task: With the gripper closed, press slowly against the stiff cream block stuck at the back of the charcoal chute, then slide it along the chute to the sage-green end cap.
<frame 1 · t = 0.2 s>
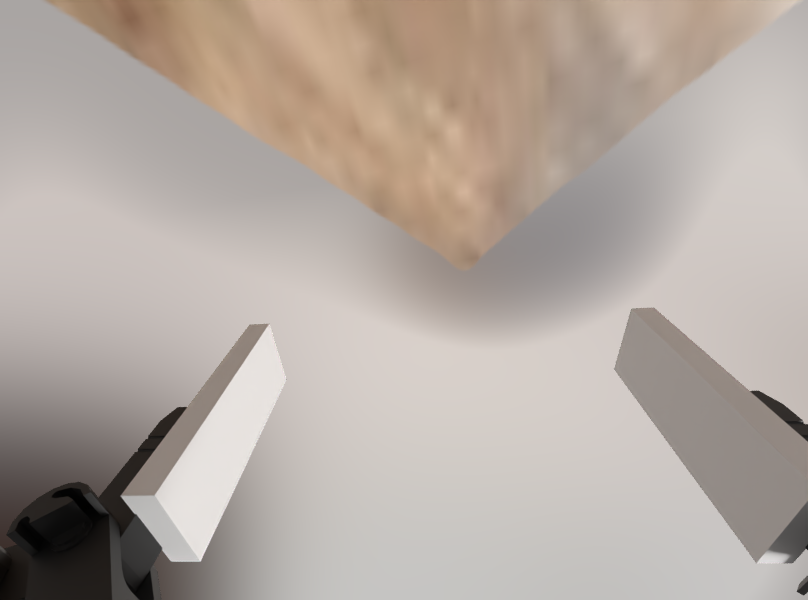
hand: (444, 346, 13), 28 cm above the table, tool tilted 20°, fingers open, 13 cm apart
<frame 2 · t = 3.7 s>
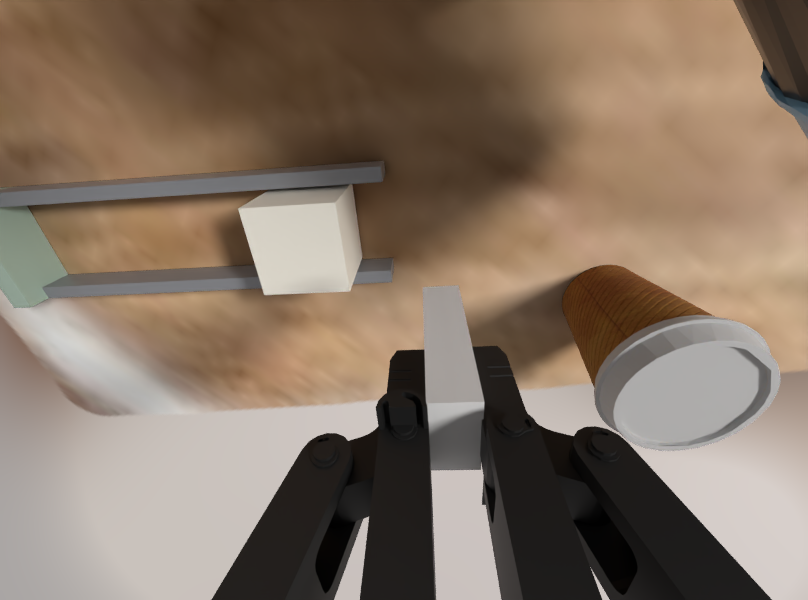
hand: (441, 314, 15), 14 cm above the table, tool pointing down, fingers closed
chute: (212, 229, 29), on the table
disposable coffee cup: (598, 296, 31), on the table
jammed block: (309, 236, 25), point 3 cm above the table, slide at 0.0 cm
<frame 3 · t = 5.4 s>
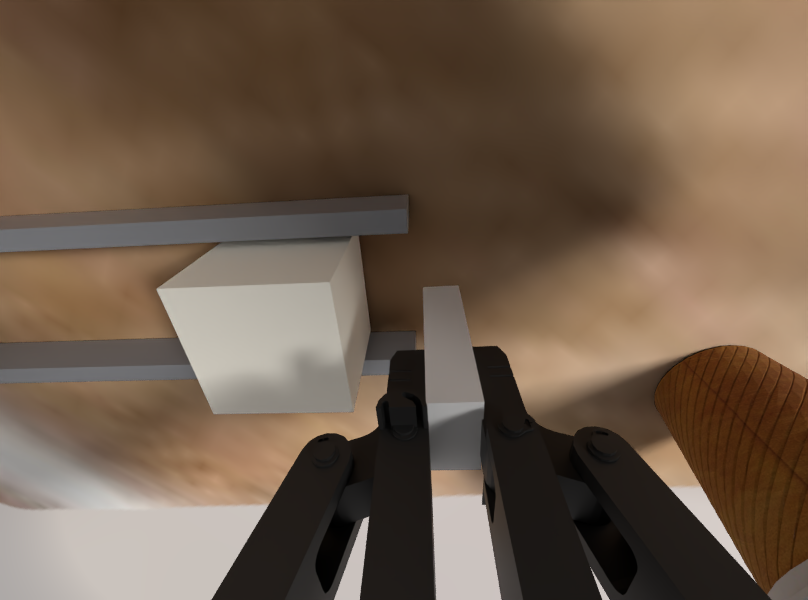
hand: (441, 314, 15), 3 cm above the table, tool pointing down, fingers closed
chute: (147, 288, 19), on the table
disposable coffee cup: (707, 384, 21), on the table
jammed block: (289, 314, 16), point 3 cm above the table, slide at 0.0 cm
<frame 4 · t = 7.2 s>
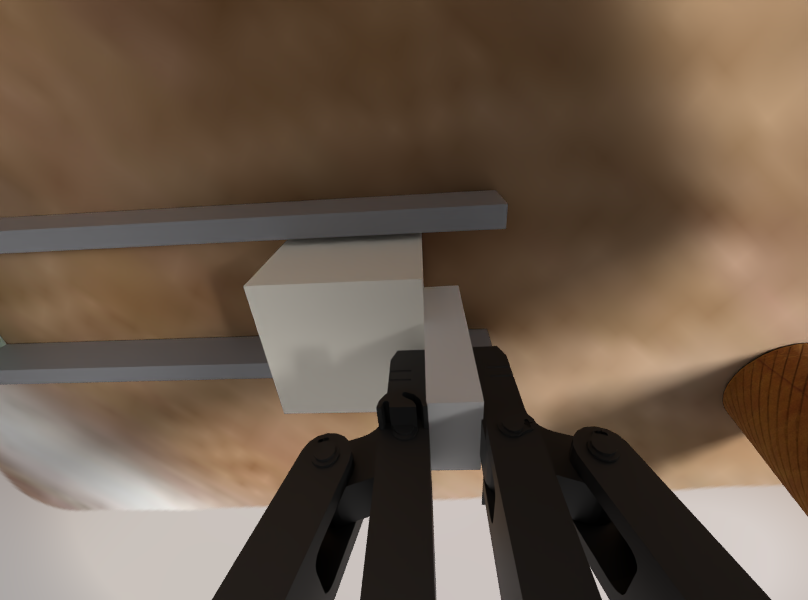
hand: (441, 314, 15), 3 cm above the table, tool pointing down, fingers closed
chute: (218, 286, 19), on the table
disposable coffee cup: (778, 382, 21), on the table
jammed block: (356, 312, 16), point 3 cm above the table, slide at 0.9 cm, touching gripper
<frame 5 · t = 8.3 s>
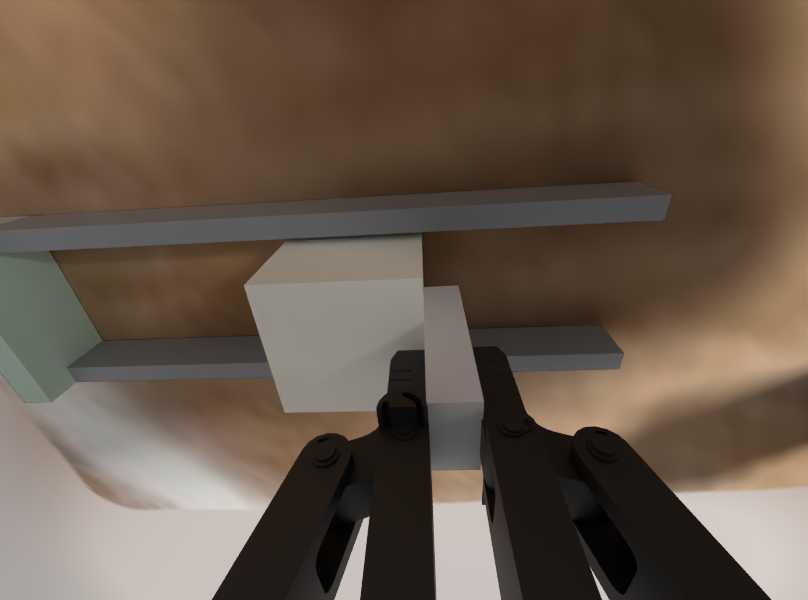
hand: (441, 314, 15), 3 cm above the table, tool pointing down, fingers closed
chute: (330, 281, 19), on the table
jammed block: (357, 311, 16), point 3 cm above the table, slide at 7.1 cm, touching gripper
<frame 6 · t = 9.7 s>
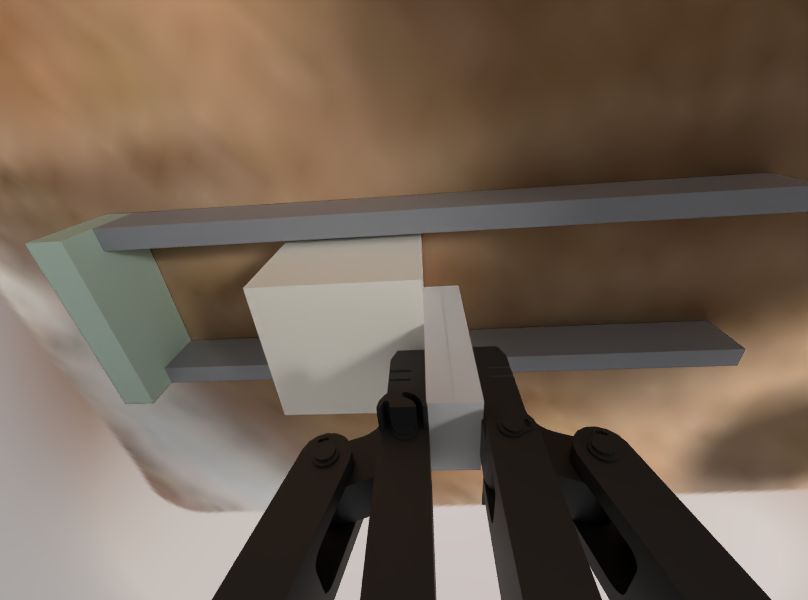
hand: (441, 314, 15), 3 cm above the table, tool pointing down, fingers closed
chute: (435, 278, 18), on the table
jammed block: (356, 313, 16), point 3 cm above the table, slide at 12.6 cm, touching gripper
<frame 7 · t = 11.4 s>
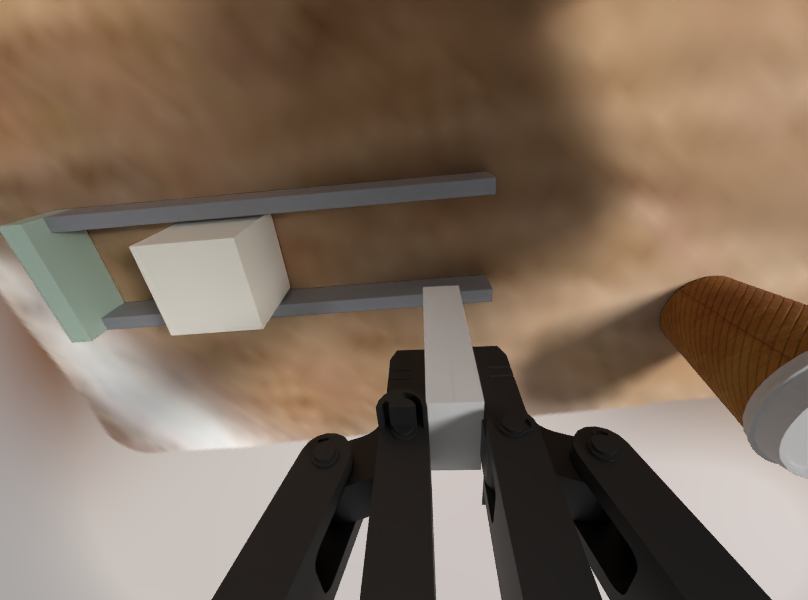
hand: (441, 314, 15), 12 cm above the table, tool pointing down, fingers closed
chute: (290, 249, 26), on the table
disposable coffee cup: (698, 309, 29), on the table
jammed block: (223, 270, 24), point 3 cm above the table, slide at 12.7 cm
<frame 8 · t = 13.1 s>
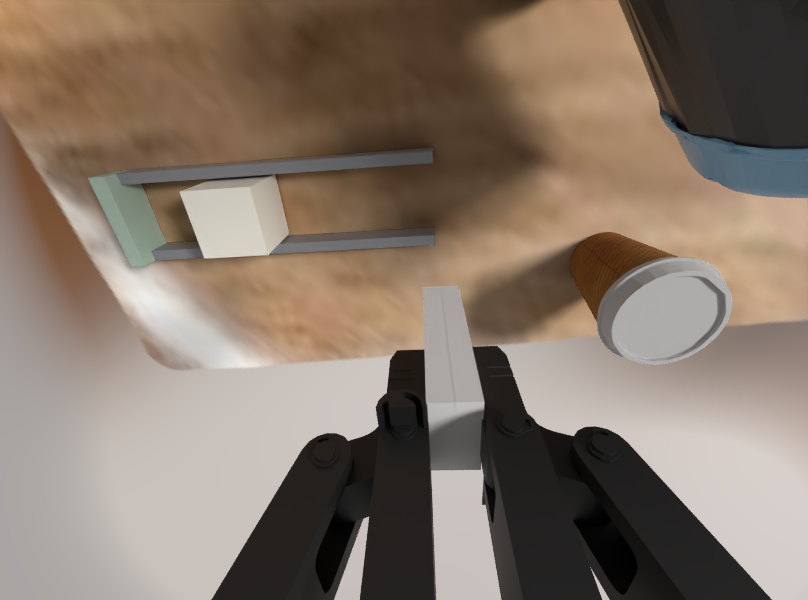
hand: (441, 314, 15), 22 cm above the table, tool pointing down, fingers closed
chute: (289, 203, 36), on the table
disposable coffee cup: (599, 259, 38), on the table
jammed block: (240, 214, 33), point 3 cm above the table, slide at 12.7 cm
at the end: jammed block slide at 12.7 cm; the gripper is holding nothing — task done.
